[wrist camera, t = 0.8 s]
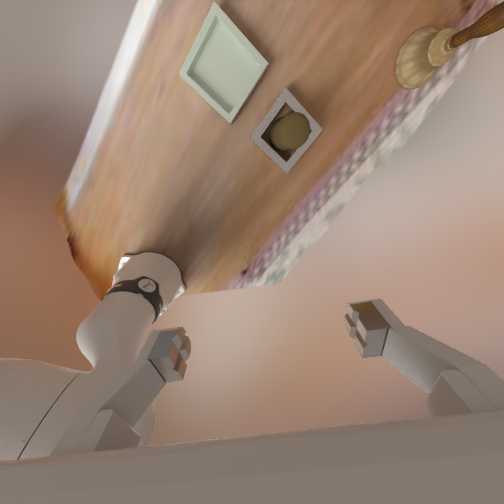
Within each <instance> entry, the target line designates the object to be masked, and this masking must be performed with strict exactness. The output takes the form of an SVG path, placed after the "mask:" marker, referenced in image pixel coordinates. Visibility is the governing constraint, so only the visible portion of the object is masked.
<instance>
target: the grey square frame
mask: <svg viewBox="0 0 504 504" xmlns="http://www.w3.org/2000/svg"><path fill="white" fill-rule="evenodd" d="M283 105H284V106H285V107H286V108H287V109H288V110H289V111H290V112H291V113H292V112H299V113H302V114H304V115H305V116H306V117H307V119H308V121H309V123H310V134H309V137H308V139H307V141H306V142H305V143H304V144H303V145H302V146H301V147H299V148H297V149H294V151H293V152H292V153H291V154H290V156H289V157H288V158H287V159H286V160H283V159H282V158H281V157H280V156H279V155H278V154H277V153H276V152H275V151H274V150H273V149H272V148H271V147H270V146H269V145H268V144H267V143H266V142H265V141H264V140H263V139H262V138H261V135H262V134H263V133H264V131H265V130H266V128H267V127H268V126H269V124H270V123H271V121H272V120H273V119H274V117H275V116H276V115H277V113H278V112H279V110H280V109H281V108H282V106H283ZM322 130H323V129H322V128H321V127H320V126H319V124H318V123H317V122H316V121H315V120H314V119H313V118H312V117H311V115H310V114H309V113H308V112H307V111H306V110H305V109H304V107H303V106H302V105H301V104H300V103H299V102H298V101H297V99H296V98H295V97H294V96H293V95H292V94H291V93H290V91H289V90H288V89H287V88H286V87H285V88H284V90H283V91H282V93H281V94H280V95H279V97H278V98H277V100H276V101H275V103H274V104H273V105H272V107H271V108H270V110H269V111H268V113H267V114H266V116H265V117H264V118H263V120H262V121H261V123H260V124H259V126H258V127H257V128H256V130H255V131H254V133H253V134H252V136H251V137H250V140H251V141H252V142H253V143H254V144H255V145H256V146H257V147H258V148H260V149H261V150H262V151H263V152H264V153H265V154H266V155H267V156H268V157H269V158H270V159H271V160H272V161H273V162H274V163H275V164H277V165H278V166H279V167H280V168H281V169H282V170H283V171H284V172H285V173H288V171H289V170H290V169H291V168H292V167H293V165H294V164H295V163H296V162H297V160H298V159H299V158H300V157H301V156H302V154H303V153H304V152H305V151H306V150H307V148H308V147H309V146H310V145H311V144H312V142H313V141H314V140H315V139H316V138H317V136H318V135H319V134H320V133H321V132H322Z"/></svg>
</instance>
